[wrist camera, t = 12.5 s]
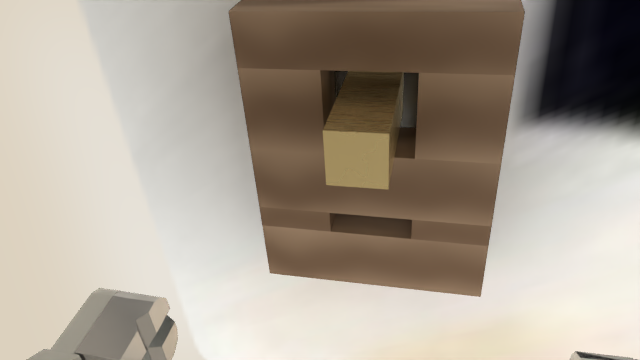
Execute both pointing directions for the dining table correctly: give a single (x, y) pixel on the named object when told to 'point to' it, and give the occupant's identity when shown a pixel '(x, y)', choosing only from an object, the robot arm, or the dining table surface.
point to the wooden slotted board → (412, 146)
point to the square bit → (364, 130)
